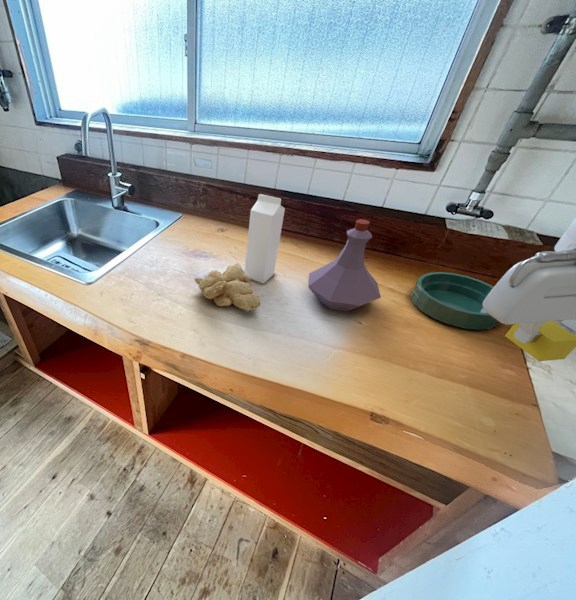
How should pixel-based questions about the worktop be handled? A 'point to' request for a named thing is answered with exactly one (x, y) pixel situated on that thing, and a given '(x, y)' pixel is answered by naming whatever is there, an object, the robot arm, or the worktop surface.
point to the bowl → (454, 300)
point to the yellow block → (547, 342)
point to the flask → (346, 274)
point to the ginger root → (229, 288)
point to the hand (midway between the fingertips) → (540, 338)
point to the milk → (263, 238)
